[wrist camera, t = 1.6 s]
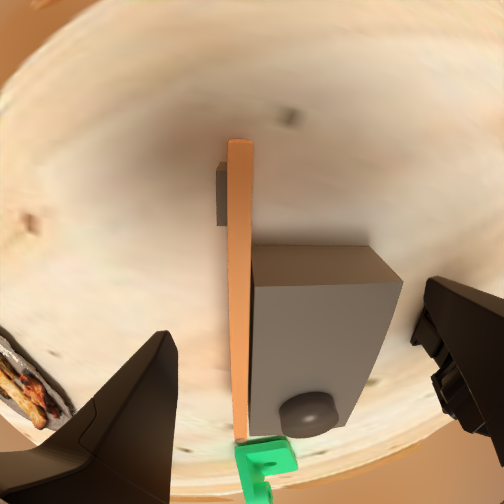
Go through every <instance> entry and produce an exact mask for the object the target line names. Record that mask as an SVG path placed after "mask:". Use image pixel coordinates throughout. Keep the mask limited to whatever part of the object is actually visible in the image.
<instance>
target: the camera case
mask: <svg viewBox="0 0 504 504" xmlns="http://www.w3.org/2000/svg"><path fill="white" fill-rule="evenodd" d="M403 282H404V281H403V280H402V279H401V278H400V277H399V276H398V275H397V274H396V273H395V272H394V271H393V270H392V269H391V268H390V267H389V266H388V265H387V264H386V263H385V262H384V261H383V260H382V259H381V257H380V256H379V255H378V254H377V253H376V252H375V251H374V250H373V249H372V248H371V247H369V246H251V268H250V312H249V358H248V418H249V435H250V436H267V435H282V434H284V435H286V436H288V437H291V438H309V437H314V436H317V435H320V434H323V433H325V432H327V431H329V430H330V429H332V428H337V427H343V426H345V424H346V422H347V420H348V419H349V417H350V415H351V413H352V411H353V409H354V407H355V405H356V403H357V401H358V399H359V397H360V395H361V393H362V391H363V388H364V386H365V384H366V382H367V380H368V378H369V375H370V373H371V371H372V368H373V366H374V364H375V361H376V359H377V357H378V354H379V352H380V349H381V347H382V344H383V341H384V339H385V336H386V334H387V331H388V328H389V325H390V322H391V320H392V317H393V314H394V311H395V308H396V305H397V302H398V298H399V295H400V292H401V289H402V285H403Z"/></svg>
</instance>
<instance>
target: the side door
mask: <svg viewBox="0 0 504 504" xmlns="http://www.w3.org/2000/svg"><path fill="white" fill-rule="evenodd" d="M252 180H253V142H251V141H250V140H248V139H230V140H229V141H228V154H227V162H220V164H219V166H218V168H217V170H216V202H217V226H227V227H228V291H229V328H230V356H231V381H232V402H233V421H234V438H235V442H237V443H244V442H246V441H247V406H248V358H249V312H250V268H251V224H252Z"/></svg>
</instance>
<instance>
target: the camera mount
mask: <svg viewBox="0 0 504 504" xmlns="http://www.w3.org/2000/svg"><path fill="white" fill-rule="evenodd" d="M235 458H236V462H237V467H238V471H239V476H240V480H241V484H242V489H243V493H244V497H245V501H246V504H272V503H273V496H272V490H271V486H270V484H269V482H268V481H267V482H264V477H265V476H268V475H275V474H281V473H287V472H292V471H296V470H298V465H297V461H296V459H295V456H294V452H293V449H292V447H291V445H290V443H288V442H287V441H286V440H276V441H271V442H265V443H259V444H253V445H246V446H238V447H235Z"/></svg>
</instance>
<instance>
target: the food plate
mask: <svg viewBox="0 0 504 504" xmlns="http://www.w3.org/2000/svg"><path fill="white" fill-rule="evenodd" d="M0 344H1V345H2V346H3V347H4V348H6V349H7V350H8V351H10V352H12V354H13V355H14V356H16V358H17V359H18V358H19V359H20V360H19V359H18V360H19V361H20V362H19V361H18V363H17V362H16V361H15V360H14V359H13V358H12V356H11V355H10V354H9V352H8V355H9V356H10V357H11V358H10V357H8V356H6V355H3V354H2V353H3V352H2V353H1V352H0V399H1V400H2V401H3V402H4V403H5V404H6V403H7V405H9V406H10V408H12V409H13V410H14V411H16V412H17V413H18V414H20V415H21V416H23V417H25V418H26V419H28V420H30V421H32V423H33V424H34V426H35V428H37V429H39V430H42V429H44V428H48V429H50V430H53V431H57V430H58V429H59V428H60V427H62V426H63V425H64V424H65V423H66V422H67V421H68V420H70V419H71V418H72V417H73V414H72V412H73V411H72V412H71V413H70V407H68V406H66V405H65V404H64V403H65V401H64V399H63V398H62V397H61V396H60V395H59V394H57V392H56V391H55V390H54V389H52V388H51V387H50V386H49V385H48V384H47V383H46V382H45V380H44V379H43V377H42V376H41V375H40V373H39V372H37V371H35V370H36V369H37V368H36V367H34V366H33V365H31V364H30V363H28V362H27V361H26V360H24V358H23V357H22V356H21V355H19V354H18V353H15V352H14V351H15V350H13V349H12V348H11V346H10V344H9V342H8V341H7V340H6V339H4V338H3V337H2V336H0ZM0 347H1V346H0ZM21 362H22V363H21ZM20 363H21V364H23V366H22V365H21V364H20ZM25 364H26V365H25ZM26 367H27V368H28V369H27V368H26ZM54 391H55V392H54Z"/></svg>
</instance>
